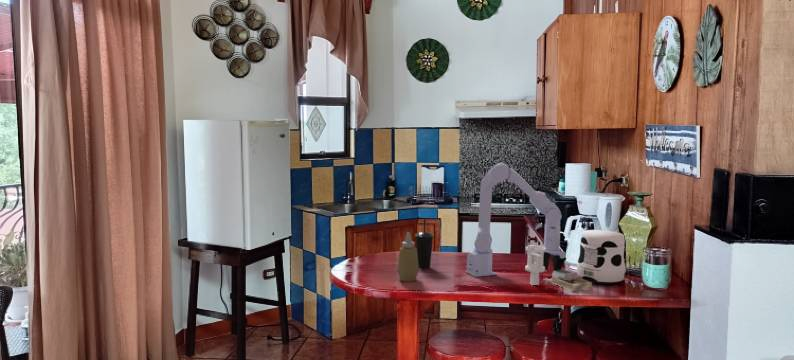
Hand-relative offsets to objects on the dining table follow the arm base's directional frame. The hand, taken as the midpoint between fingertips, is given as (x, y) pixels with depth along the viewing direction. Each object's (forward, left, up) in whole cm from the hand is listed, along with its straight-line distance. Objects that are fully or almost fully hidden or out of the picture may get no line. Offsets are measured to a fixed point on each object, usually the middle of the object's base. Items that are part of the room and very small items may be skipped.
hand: (550, 272), depth 214 cm
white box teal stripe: (0, -8, -1) cm, 8 cm away
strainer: (-11, -5, -2) cm, 13 cm away
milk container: (+15, -10, -2) cm, 18 cm away
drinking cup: (-40, +30, -2) cm, 50 cm away
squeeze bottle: (-53, +16, -2) cm, 55 cm away
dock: (0, -9, -3) cm, 9 cm away
